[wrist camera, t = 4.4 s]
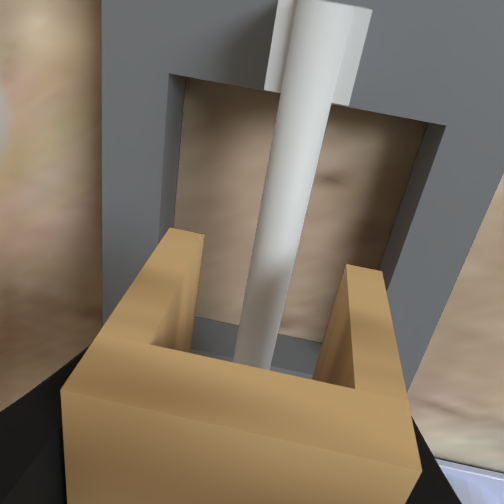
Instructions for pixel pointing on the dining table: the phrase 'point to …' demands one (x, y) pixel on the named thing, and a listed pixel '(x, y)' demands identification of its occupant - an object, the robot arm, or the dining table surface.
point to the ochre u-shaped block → (236, 405)
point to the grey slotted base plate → (305, 143)
